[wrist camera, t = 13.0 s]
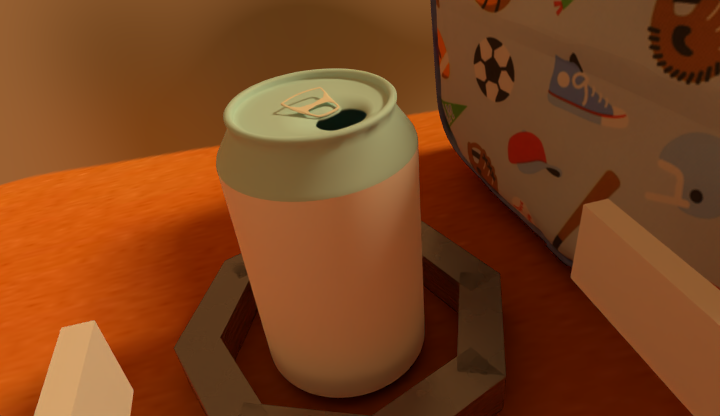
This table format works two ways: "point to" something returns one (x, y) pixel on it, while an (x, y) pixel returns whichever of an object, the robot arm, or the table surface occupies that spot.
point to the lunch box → (589, 113)
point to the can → (328, 225)
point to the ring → (407, 412)
